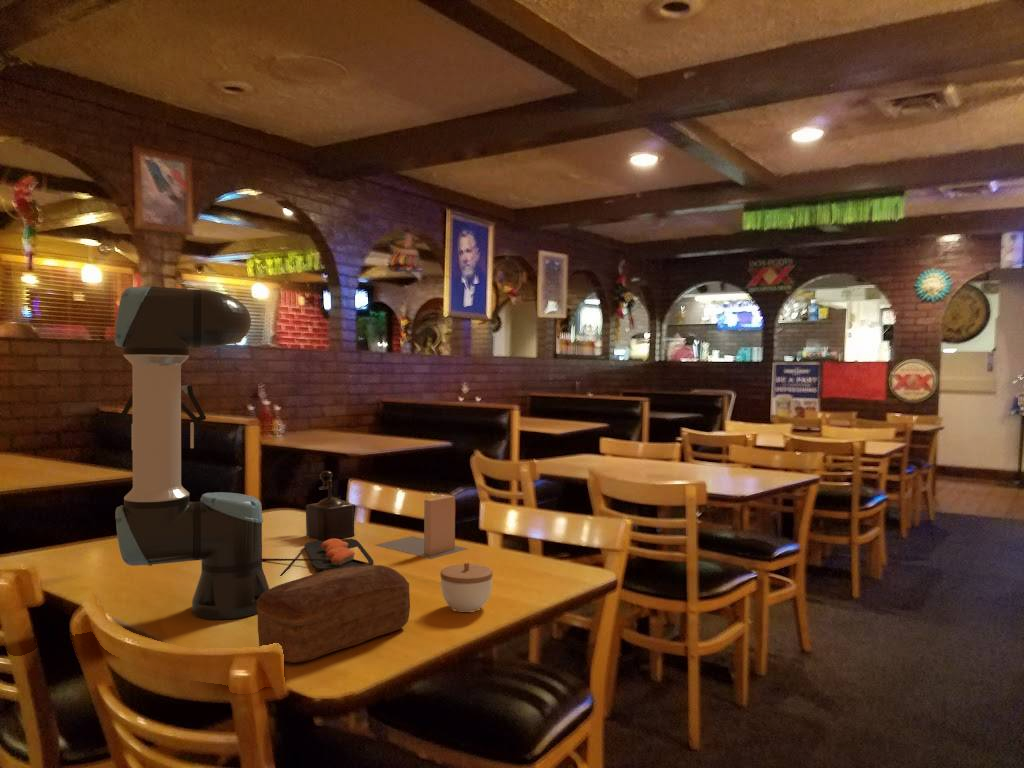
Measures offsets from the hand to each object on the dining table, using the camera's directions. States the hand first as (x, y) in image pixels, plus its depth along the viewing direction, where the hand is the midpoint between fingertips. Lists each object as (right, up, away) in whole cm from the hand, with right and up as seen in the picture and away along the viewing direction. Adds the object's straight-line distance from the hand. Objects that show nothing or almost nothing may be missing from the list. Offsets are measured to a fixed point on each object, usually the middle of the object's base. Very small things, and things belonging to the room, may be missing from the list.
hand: (163, 448), depth 190 cm
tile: (+71, -28, +5) cm, 76 cm away
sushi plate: (+37, -29, -1) cm, 47 cm away
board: (+65, -28, +10) cm, 72 cm away
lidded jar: (+80, -30, -37) cm, 93 cm away
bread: (+58, -30, -55) cm, 86 cm away
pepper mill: (+35, -28, +28) cm, 53 cm away
